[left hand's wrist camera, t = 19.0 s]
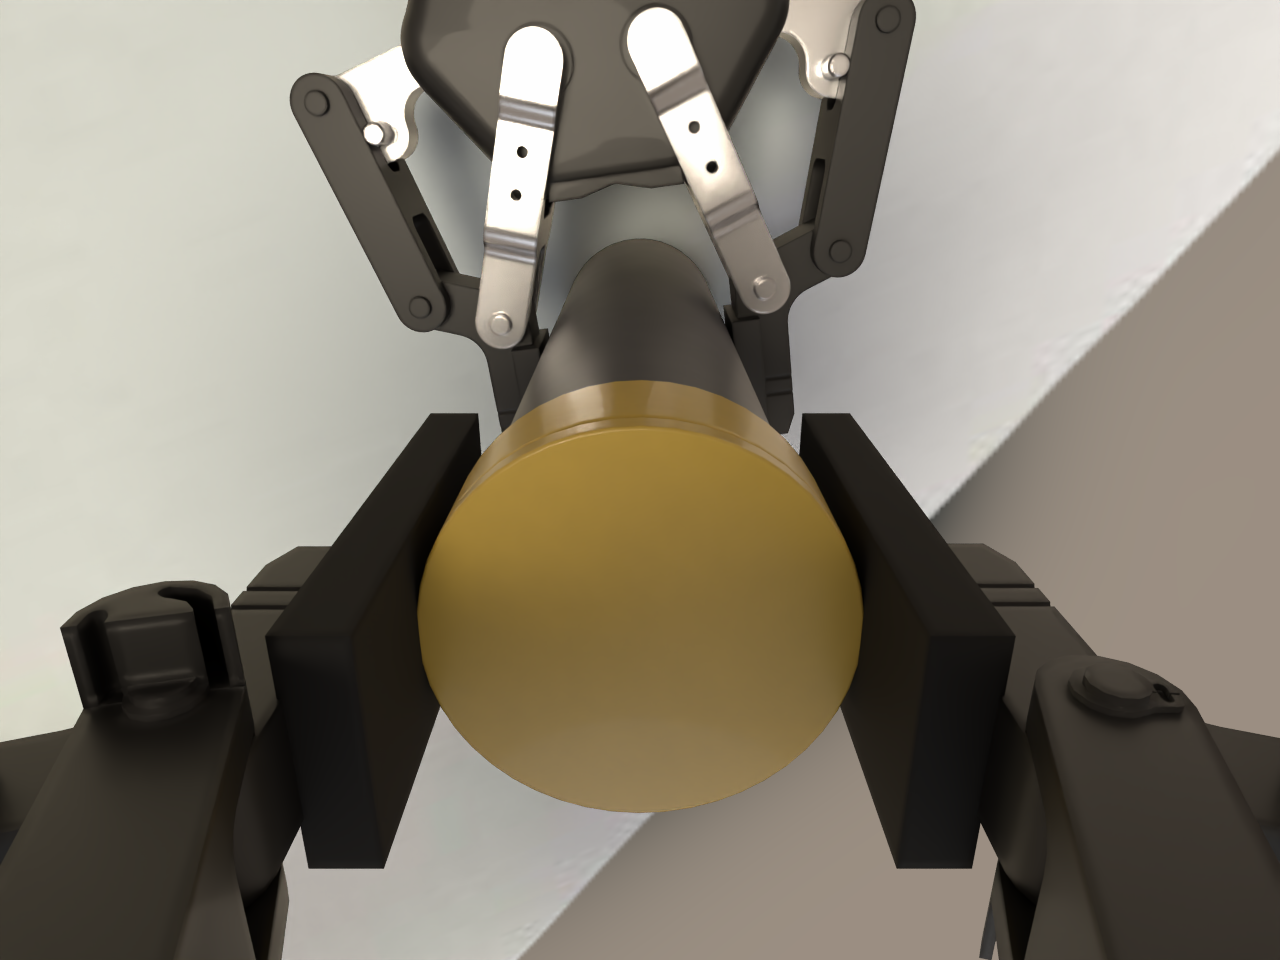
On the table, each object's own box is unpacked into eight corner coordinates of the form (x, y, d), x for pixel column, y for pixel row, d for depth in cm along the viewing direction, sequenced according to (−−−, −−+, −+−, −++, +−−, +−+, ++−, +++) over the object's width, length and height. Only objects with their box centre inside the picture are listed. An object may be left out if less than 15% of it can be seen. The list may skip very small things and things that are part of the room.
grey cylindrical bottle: (591, 218, 27) (502, 376, 10) (732, 265, 28) (893, 495, 10) (551, 358, 29) (413, 710, 11) (685, 399, 29) (752, 796, 12)
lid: (701, 771, 13) (709, 871, 11) (387, 620, 12) (344, 704, 10) (908, 501, 11) (957, 569, 10) (564, 301, 10) (548, 335, 9)
